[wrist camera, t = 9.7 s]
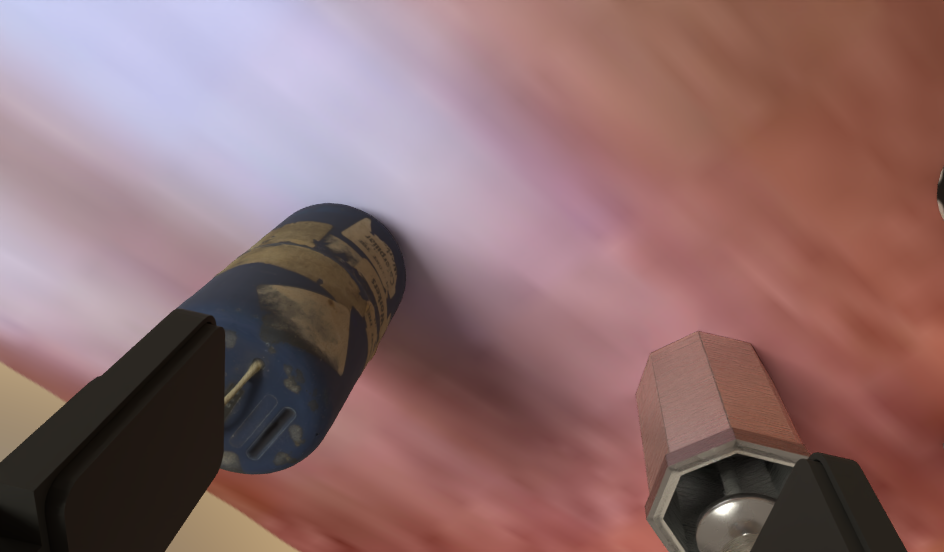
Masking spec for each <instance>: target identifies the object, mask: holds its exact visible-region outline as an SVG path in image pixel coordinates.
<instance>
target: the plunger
mask: <svg viewBox="0 0 944 552" xmlns="http://www.w3.org/2000/svg"><path fill="white" fill-rule="evenodd" d="M717 464H718V468H719V472H720V475H721V479H722V482H723V486H724V489H725V493H726V496H725V497H722V498H720V499H718V500H716V501H714V502H713V503H711V504H710V505H709V506H707V507H706V508H705V509H704V510H703V512H702V513H701V514H700V516H699V518H698V520H697V523H696V527H695V535H696V540H697V545H698V549H699V551H700V552H750V551H751V549H752V547H753V545H754V543H755V541H756V539H757V537H758V535H759V533H760V531H761V529H762V527H763V525H764V523H765V521H766V520H767V518H768V516H769V514H770V512H771V510H772V508H773V506H774V504H775V502H776V500H777V499H775V498H773V497H770V496H767V495H763V494H758V493H743V490H742V487H741V484H740V481H739V478H738V475H737V471H736V468H735V465H734V462H733V459H732V456H729V457H726V458H724V459H721V460H719V461H717Z"/></svg>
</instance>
